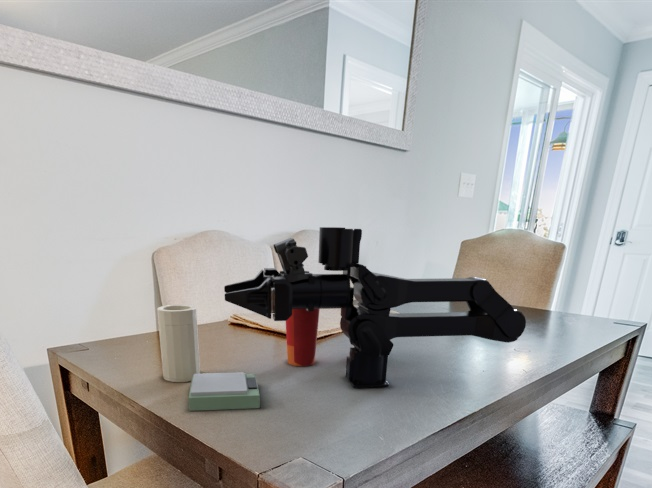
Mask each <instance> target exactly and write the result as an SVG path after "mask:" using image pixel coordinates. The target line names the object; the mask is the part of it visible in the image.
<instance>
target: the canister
mask: <svg viewBox="0 0 652 488" xmlns="http://www.w3.org/2000/svg"><path fill="white" fill-rule="evenodd" d="M156 312H157V313H156V314H157V322H158V323H157V324H158V325H157V326H158V334H159V346H160V358H161V367H162V369H161V370H162V375H163V379H164V380H165V381H167V382H172V383H184V382H185V383H187V382H192V377H193V376H194V374H200V373H201V367H200V366H201V364H200V349H199V333H198V331H199V330H198V317H197V316H198V315H197V306H195V305H190V304H168V305H162V306H158V307H157V308H156Z"/></svg>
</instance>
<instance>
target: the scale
mask: <svg viewBox="0 0 652 488" xmlns="http://www.w3.org/2000/svg"><path fill="white" fill-rule="evenodd" d="M187 400H188V410H189V412H193V411H194V412H196V411H217V410H218V411H220V410H222V411H223V410H245V409H248V410H249V409H260V408H261V396H260V390H259V386H258V382H257V377H256V373H245V372H244V371H241V372H240V371H238V372H235V371H234V372H208V373H207V372H205V373H201V372H200V374H194V376H193V377H192V381H190V388H189V393H188V399H187Z"/></svg>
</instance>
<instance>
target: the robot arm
mask: <svg viewBox="0 0 652 488" xmlns="http://www.w3.org/2000/svg"><path fill="white" fill-rule="evenodd" d="M318 234H319V235H318V261H317V263H318V264H321V266H324V267H323V270H324V271H329V272H330V271H332V272H340V271H342V273H313V272H310V271H309V270H305V265H304V262H305V261H306V260H307V259H308V257H309V255H308V252H307V251H308V250H307V248H306V247H304V246H298V245H297V241H296V240H295V238H293V237H290V238H289V237H288V238H286V239H284V240H282V241H279V242H276V243H274V244H273V245H272V246H273V250H274V252H275V254H276V255H277V258H278V260H279V263H280V266H281V268H282V270H279V271H278V270H277V268H275V267H264V269H263V268H262V269H260V270H259V272H258V273H257V274H256V275H255V276H254V277H253V278H251V279H246V280H242V281H238V282H234V283H231V284H227V285H224V287H223V288H224V289H223V290H224V301H225V302H228V303H230V304H233V305H235V306H237V307H241V308H243V309H245V310H247V311H250V312H252V313H256V314H258V315H260V316H262V317H265V318H267V319H270V320H271V319H272V320H273V322H286V321H287V320H288V319H289V318H290V317H291V316H292V309H306V310H307V311H314V309H320V310H324V309H325V310H326V309H327V310H328V309H333V310H334V309H340V320H339V326H340V327H339V328H340V330H341V332H342V333H343V335H344V336H346V337H347V338H348V340H349V343H350V345H351V346H353V347H349V355H347V356H346V360H345V364H346V365H345V379H346V380H347V381H348V382H349V383H350V385H351V386H352V387H353V388H355V389H364V388H365V389H366V388H388V387H390V384H389V382H388V381H387V374H388V373H387V372H388V362H389V361H388V360H389V356H390V354H391V352H392V350H393V348H394V343H393V342H392V340H393V339H396V338H421V337H423V338H425V337H461V336H462V337H464V336H467V337H468V336H472V337H477V338H481V339H486V340H490V341H493V342H494V341H495V342H502V343H508V344H509V343H514V342H516V341H518V339H519V338H520V337H522V335H523V333H524V331H525V330H526V326H527V320H526V316H525V315H524V313H523V312H522V311H520V310H517V309H515V308H514V307H513V306H512V305H511V304H510V303H509V301H507V300H506V299H505V298H504V297H503V296H502V295H500V294H499V292H498V291H496V290H495V288H494V286H493V285H492V284H491V283H490V281H488V280H487V279H485V278H479V277H475V276H469V277H465V278H464V277H458V278H457V277H456V278H403V277H399V276H393V275H389V274H385V273H378V272H374V271H371V270H370V269H368V268H367V266H366V265H364V264H361V263H360V248H361V241H362V237H363V236H362V235H363V230H362V229H361V228H346V227H342V226H341V227H340V226H338V227H337V226H319V231H318ZM351 284H352V285H353V286H351ZM354 299H355V300H356V301H357V306H355V305H354ZM457 302H460V303H461V302H462V303H463V302H465V303H466V305H467V306H468V309H469V310H468V311H461V312H460V311H459V312H457V311H456V312H455V311H454V312H453V311H451V312H403V313H400V312H399V313H397V312H396V313H392V312H391V310H392V309H393V308H397V307H400V306H403V305H405V304H410V303H457Z"/></svg>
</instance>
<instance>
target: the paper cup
mask: <svg viewBox="0 0 652 488" xmlns="http://www.w3.org/2000/svg"><path fill="white" fill-rule="evenodd" d="M320 310H321V309H314V311H307V310H306V309H292V316H291V317H290V318H289V319H288V320H287V321H285V333H286V334H285V335H286V336H285V337H286V355H287V364H289V366H295V367H310V366H312V365H314V364H315V360H316V352H317V351H316V350H317V342H318V341H317V340H318V332H319V321H320V320H319V319H320Z"/></svg>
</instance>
